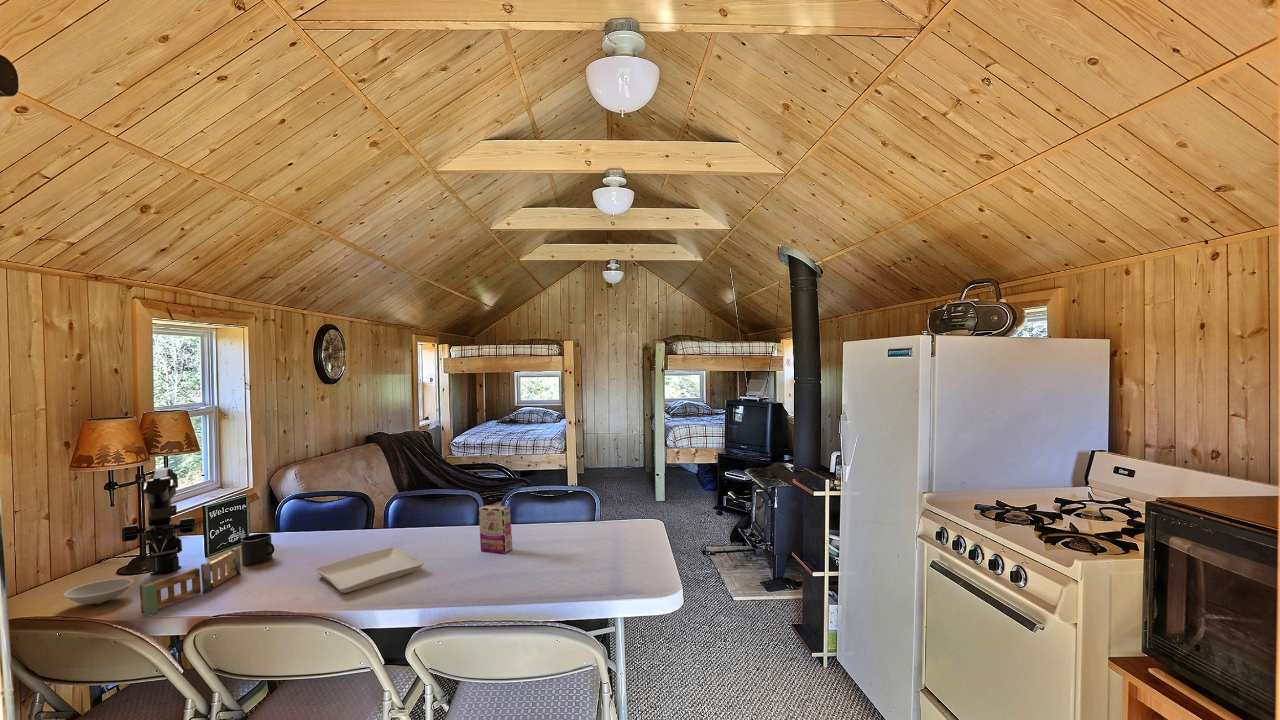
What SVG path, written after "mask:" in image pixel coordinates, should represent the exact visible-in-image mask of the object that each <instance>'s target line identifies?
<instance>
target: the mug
mask: <svg viewBox="0 0 1280 720" xmlns="http://www.w3.org/2000/svg"><path fill="white" fill-rule="evenodd" d="M240 551H241V553H240V554H241V564H242V565H243V566H256V564H257V565H262V564H264V562H265V563H267V562H269V561H271V560H272V559H273V554H274V552H275V545H274V544H273V542H272V533H269V532H263V533H262V532H261V533H254V534H250V535H247V536H245V537H243V538H241V539H240Z"/></svg>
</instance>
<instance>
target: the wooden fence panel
mask: <svg viewBox="0 0 1280 720" xmlns="http://www.w3.org/2000/svg"><path fill="white" fill-rule="evenodd" d="M240 551H241V550H240V547H234V548H231V549H230V551H229V552H228V553H225V554H223V555H221V556H219V557H217V558H216V559H213V560H211V561H210V562H205V563H201V564H200V577H201V593H202V592H203V594H206V593H210V592H212V589H213V588H215V587H217V586H219V585H220V584H222V583H224V582H225V581H228V580H229V579H231V578H233V577H235V576H239V575H241V574H242V571H241V570H242V569H241V555H240V554H241V553H240ZM211 574H212V576H211Z"/></svg>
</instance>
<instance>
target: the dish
mask: <svg viewBox="0 0 1280 720" xmlns="http://www.w3.org/2000/svg"><path fill="white" fill-rule="evenodd" d="M134 582H135V581H134V579H132V578H112V579H106V580H105V579H104V580H99V581H93V582H90V583H86V584H82V585H79V586H76V587H73V588H71V589H68V590H66V591H65V592H64V593H63V595H62V596H63V598H65V599H69V600H70V601H72V602H75V603H78V604H82V605H92V604H96V605H102V604H104V603H105V602H108V601H110V600H114V599H115V598H117V597H119V596H121V595H122V594H123V593H124V592H126V591H127V590H128V588H130V586H132V585H133V584H134Z"/></svg>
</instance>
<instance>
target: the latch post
mask: <svg viewBox="0 0 1280 720" xmlns="http://www.w3.org/2000/svg"><path fill="white" fill-rule="evenodd" d="M148 583H149V584H146V585H143V586H142V594H143V610H144V613H143V616H144V617H147V616H149V617H151V616H150V615H152V616H154V615H153V614H155V613H159V611H158V609H157V593H156V584H155V583H152V582H148ZM155 615H156V614H155Z"/></svg>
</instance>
